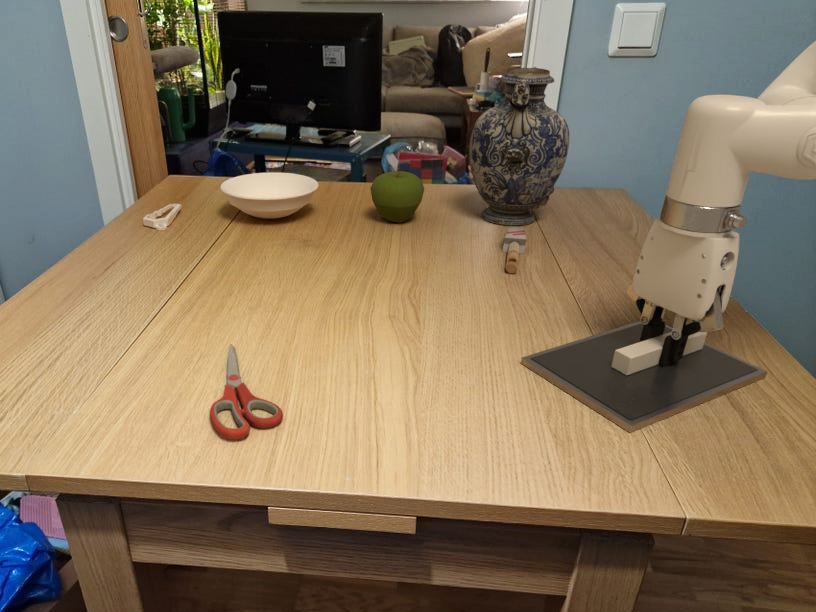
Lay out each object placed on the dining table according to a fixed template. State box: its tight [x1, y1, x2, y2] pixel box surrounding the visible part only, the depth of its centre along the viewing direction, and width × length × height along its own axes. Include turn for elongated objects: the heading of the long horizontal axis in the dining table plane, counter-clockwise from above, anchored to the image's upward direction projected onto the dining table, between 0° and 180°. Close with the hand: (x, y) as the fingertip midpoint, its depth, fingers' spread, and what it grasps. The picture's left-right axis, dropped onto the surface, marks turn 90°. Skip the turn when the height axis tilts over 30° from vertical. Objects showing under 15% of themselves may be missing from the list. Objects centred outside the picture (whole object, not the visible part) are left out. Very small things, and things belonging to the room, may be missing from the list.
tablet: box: [520, 320, 768, 433], centre depth 82 cm, size 24×17×1 cm
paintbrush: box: [501, 226, 527, 274], centre depth 117 cm, size 4×3×20 cm
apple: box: [370, 169, 425, 223], centre depth 132 cm, size 11×10×10 cm
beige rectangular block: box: [611, 332, 708, 375], centre depth 82 cm, size 14×2×2 cm, turn 118°
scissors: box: [209, 343, 284, 440], centre depth 78 cm, size 8×21×2 cm, turn 24°
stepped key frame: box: [142, 203, 183, 231], centre depth 134 cm, size 13×5×2 cm, turn 176°
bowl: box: [219, 171, 319, 220], centre depth 136 cm, size 20×20×6 cm
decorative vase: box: [468, 66, 570, 227], centre depth 129 cm, size 21×19×28 cm
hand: (658, 356), depth 83 cm, fingers closed on beige rectangular block, 2 cm apart
